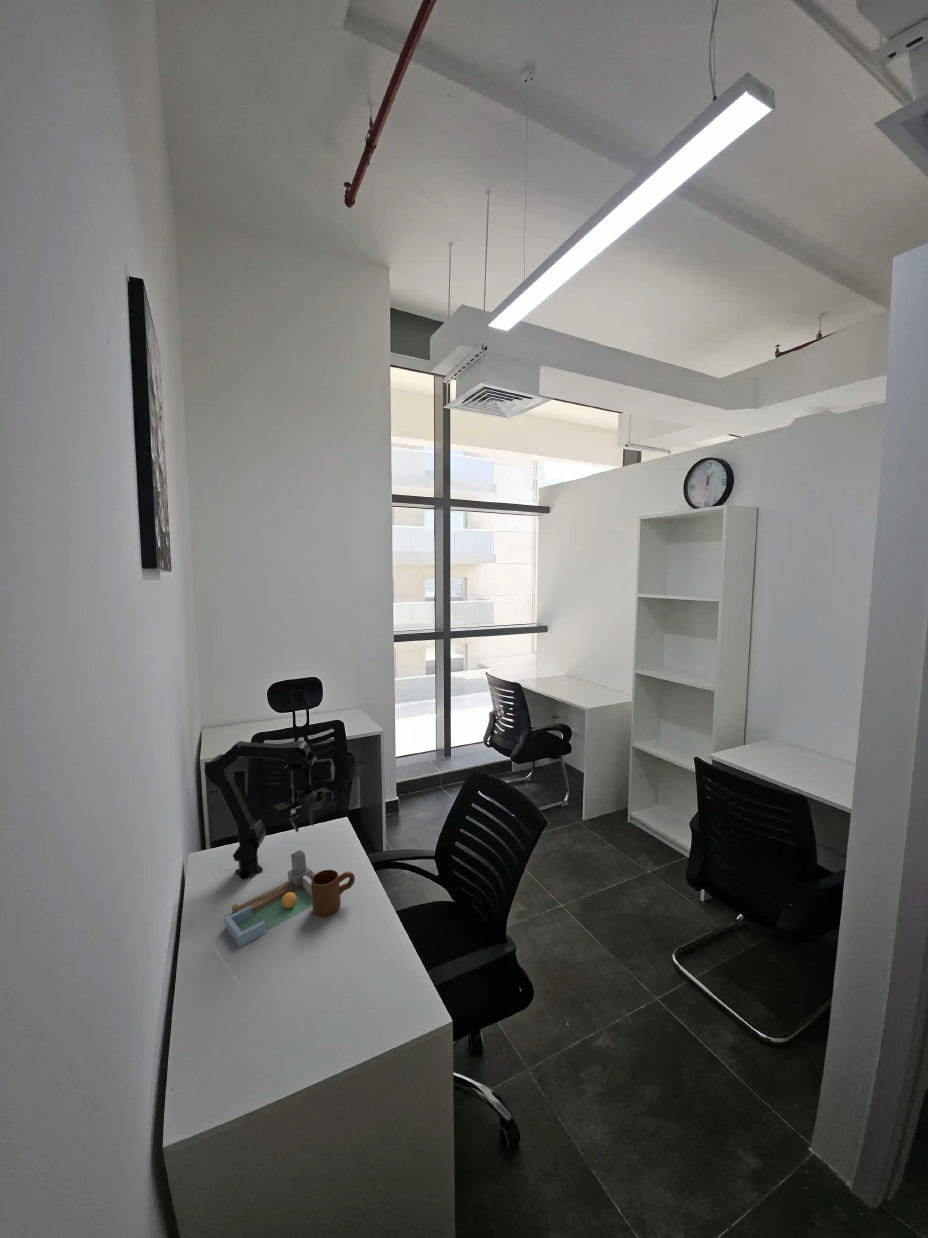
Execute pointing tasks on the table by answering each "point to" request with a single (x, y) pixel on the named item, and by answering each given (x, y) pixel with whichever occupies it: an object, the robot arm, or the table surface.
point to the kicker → (300, 871)
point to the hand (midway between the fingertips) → (304, 828)
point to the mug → (328, 891)
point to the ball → (289, 900)
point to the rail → (269, 896)
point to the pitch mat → (277, 912)
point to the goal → (247, 934)
